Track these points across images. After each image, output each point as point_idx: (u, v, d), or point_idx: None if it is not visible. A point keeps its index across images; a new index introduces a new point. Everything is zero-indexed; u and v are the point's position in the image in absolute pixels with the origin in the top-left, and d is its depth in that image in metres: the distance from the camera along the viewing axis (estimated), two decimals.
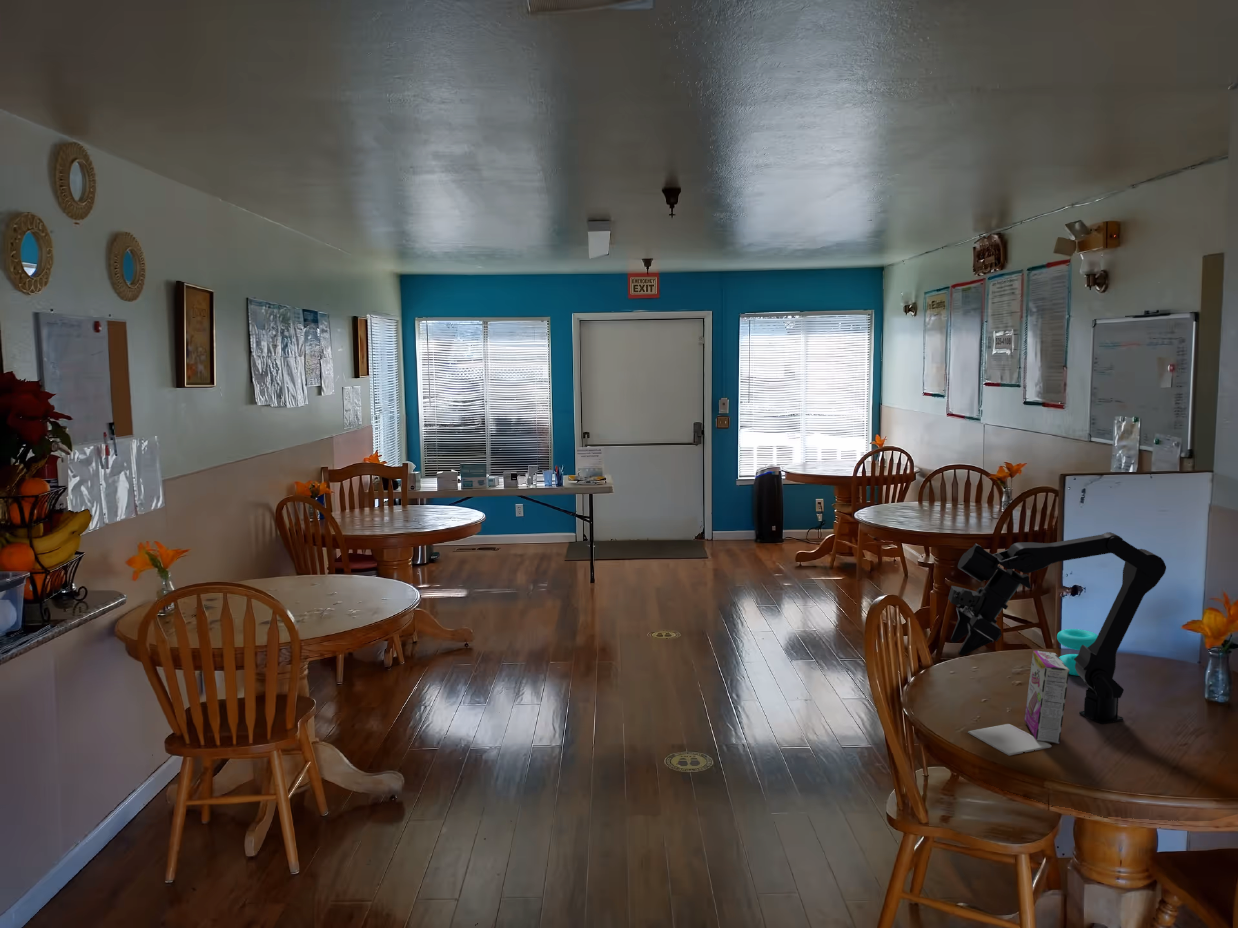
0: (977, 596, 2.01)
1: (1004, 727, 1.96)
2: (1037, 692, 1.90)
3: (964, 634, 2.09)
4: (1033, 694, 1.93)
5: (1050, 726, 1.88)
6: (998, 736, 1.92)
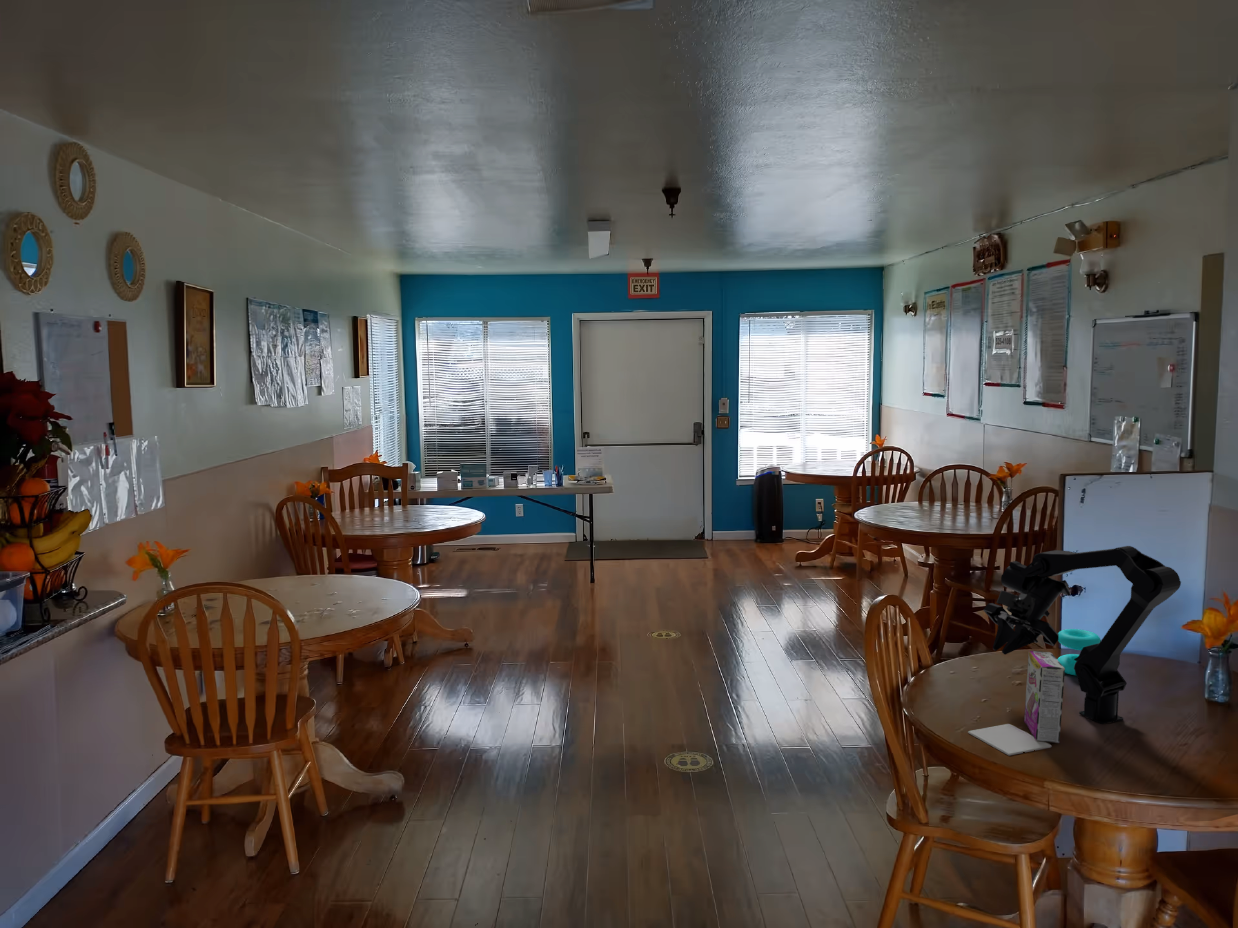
0: None
1: (1004, 727, 1.96)
2: (1035, 693, 1.90)
3: (1004, 642, 2.11)
4: (1031, 694, 1.93)
5: (1049, 725, 1.88)
6: (998, 736, 1.92)
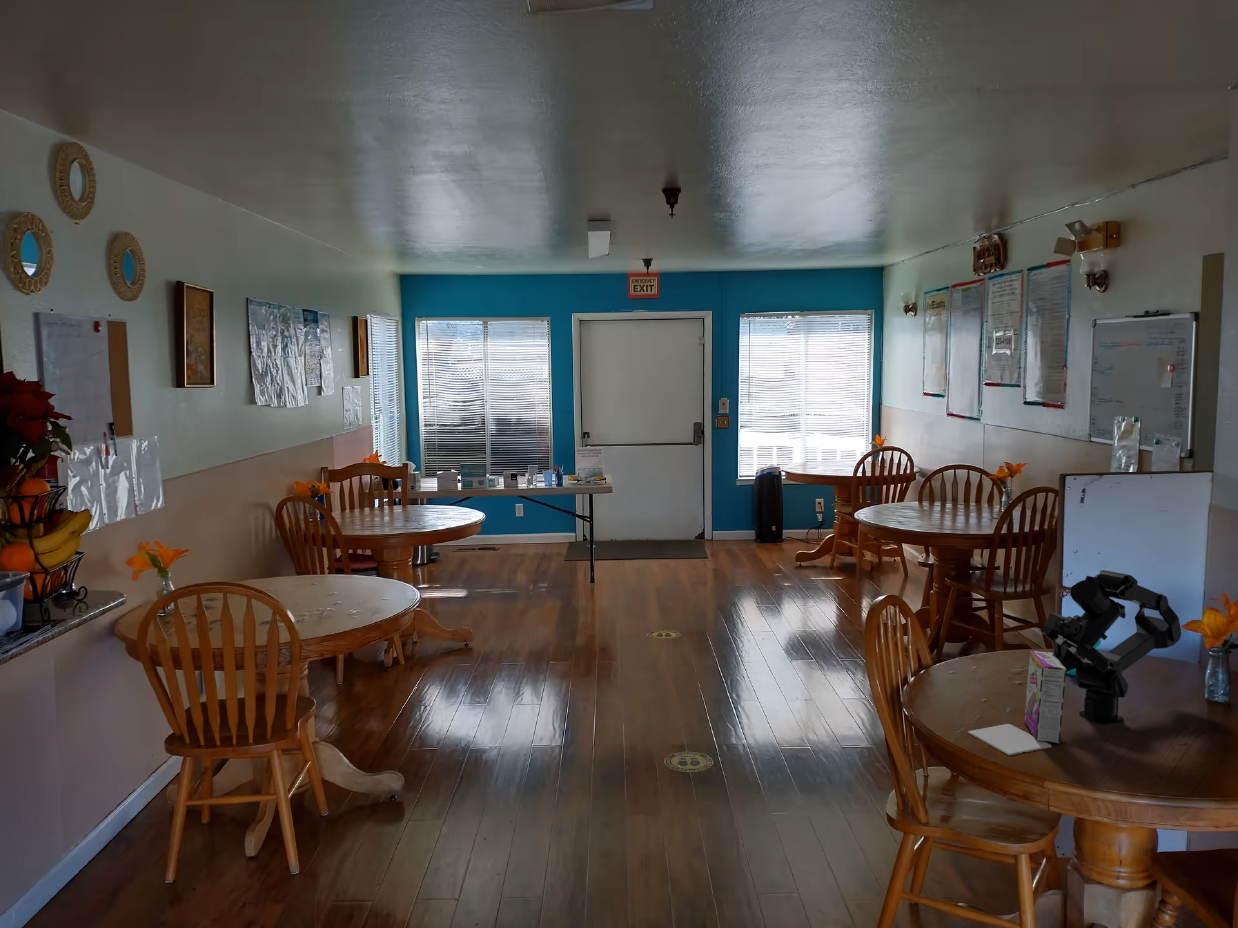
0: (1079, 624, 1.96)
1: (1004, 727, 1.96)
2: (1036, 693, 1.90)
3: None
4: (1031, 694, 1.93)
5: (1050, 725, 1.88)
6: (998, 736, 1.92)
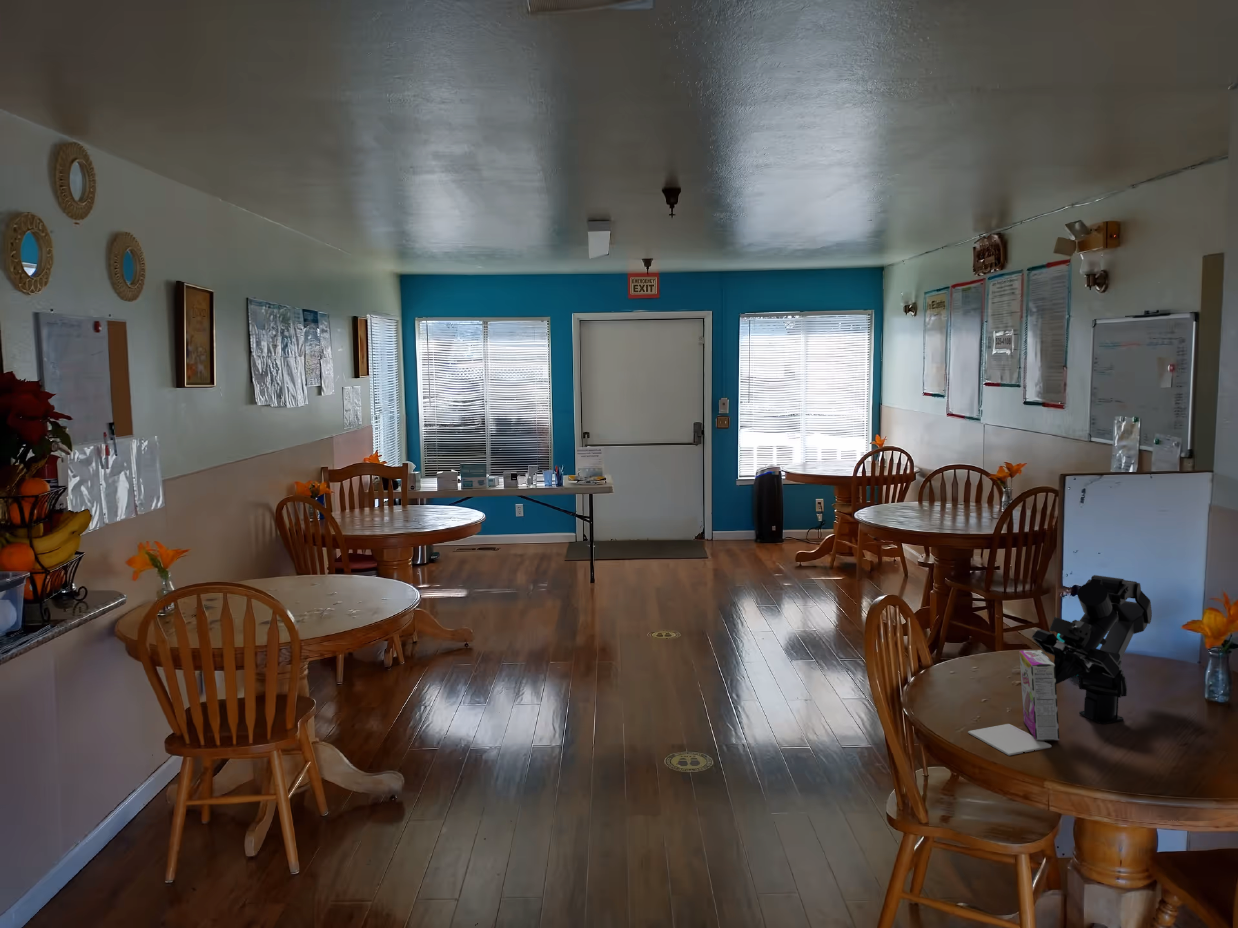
0: None
1: (1004, 727, 1.96)
2: (1029, 692, 1.91)
3: None
4: (1026, 694, 1.94)
5: (1047, 723, 1.88)
6: (998, 736, 1.92)
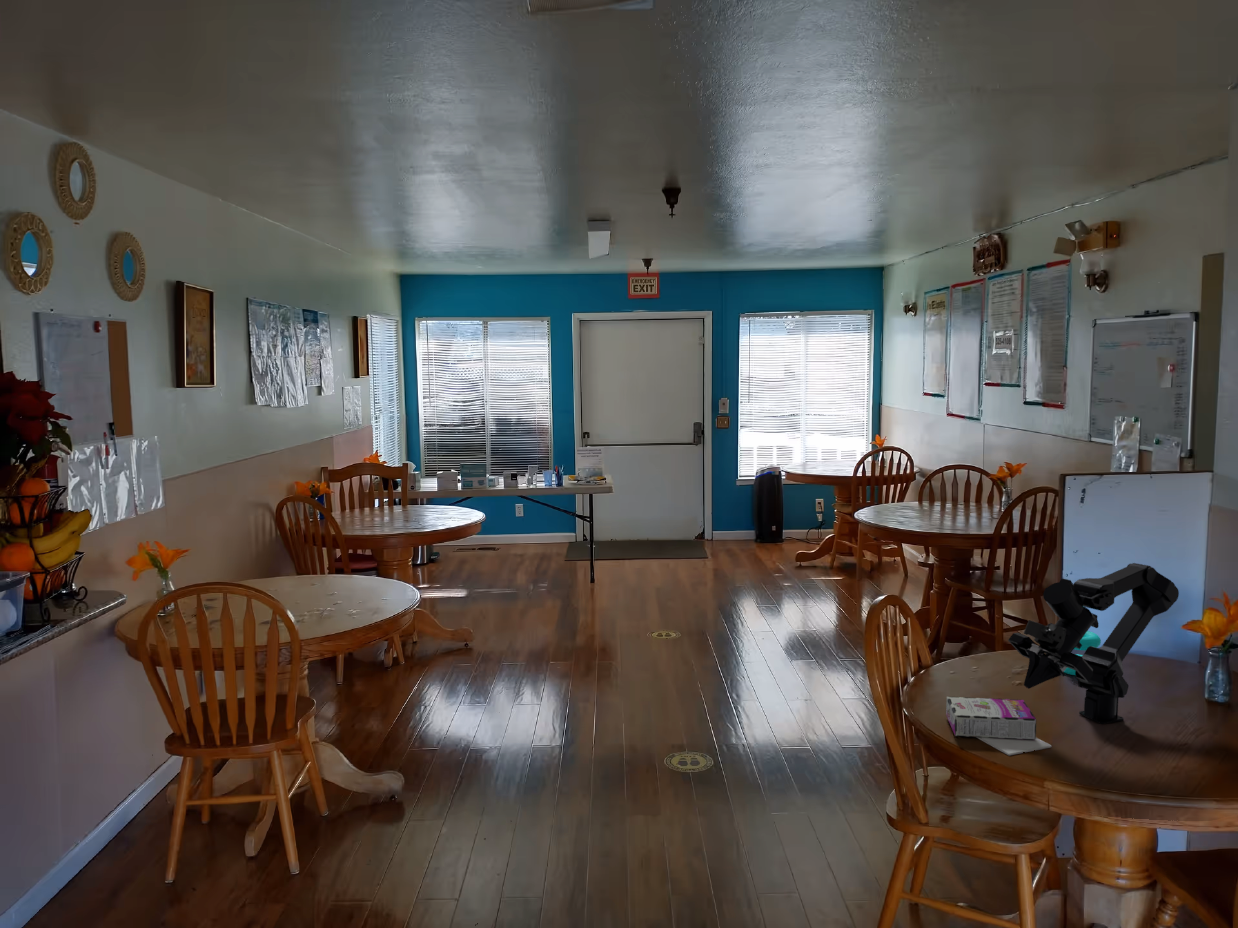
0: None
1: None
2: None
3: None
4: None
5: (1017, 728, 1.89)
6: None
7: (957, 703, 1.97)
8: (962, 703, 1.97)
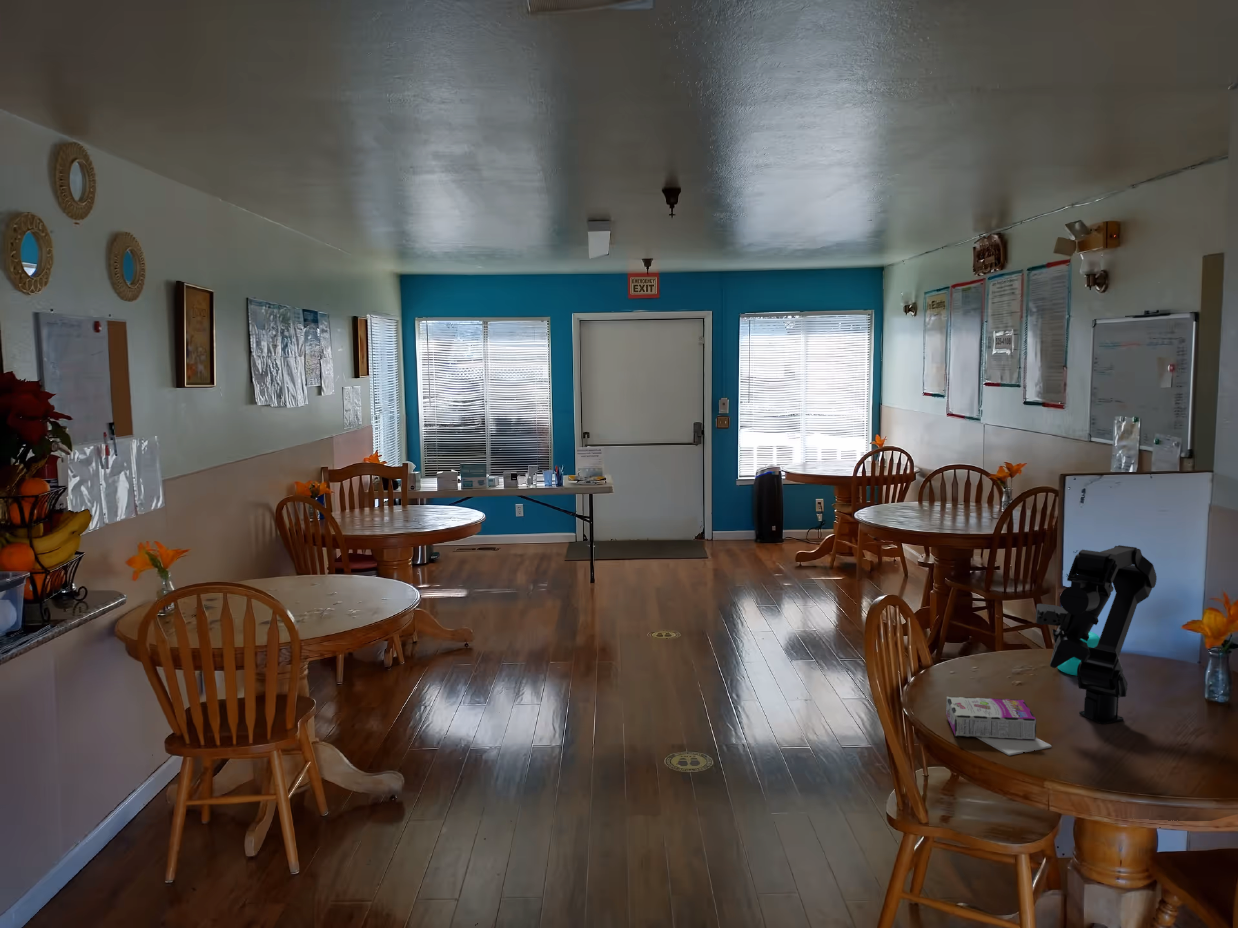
0: (1063, 614, 1.94)
1: None
2: None
3: None
4: None
5: (1017, 728, 1.89)
6: None
7: (957, 703, 1.97)
8: (962, 703, 1.97)
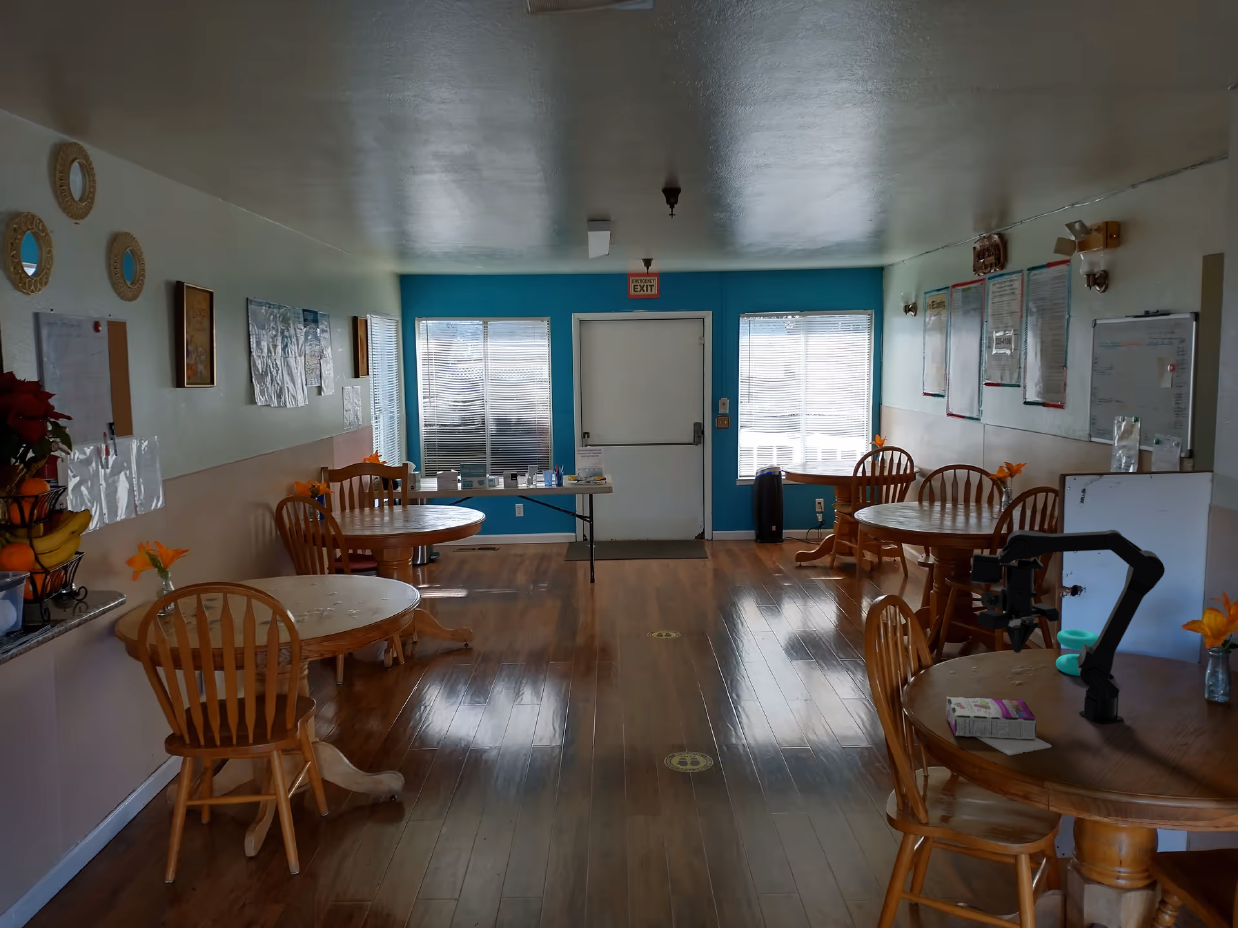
0: (999, 595, 2.08)
1: None
2: None
3: (1022, 641, 2.05)
4: None
5: (1017, 728, 1.89)
6: None
7: (957, 703, 1.97)
8: (962, 703, 1.97)
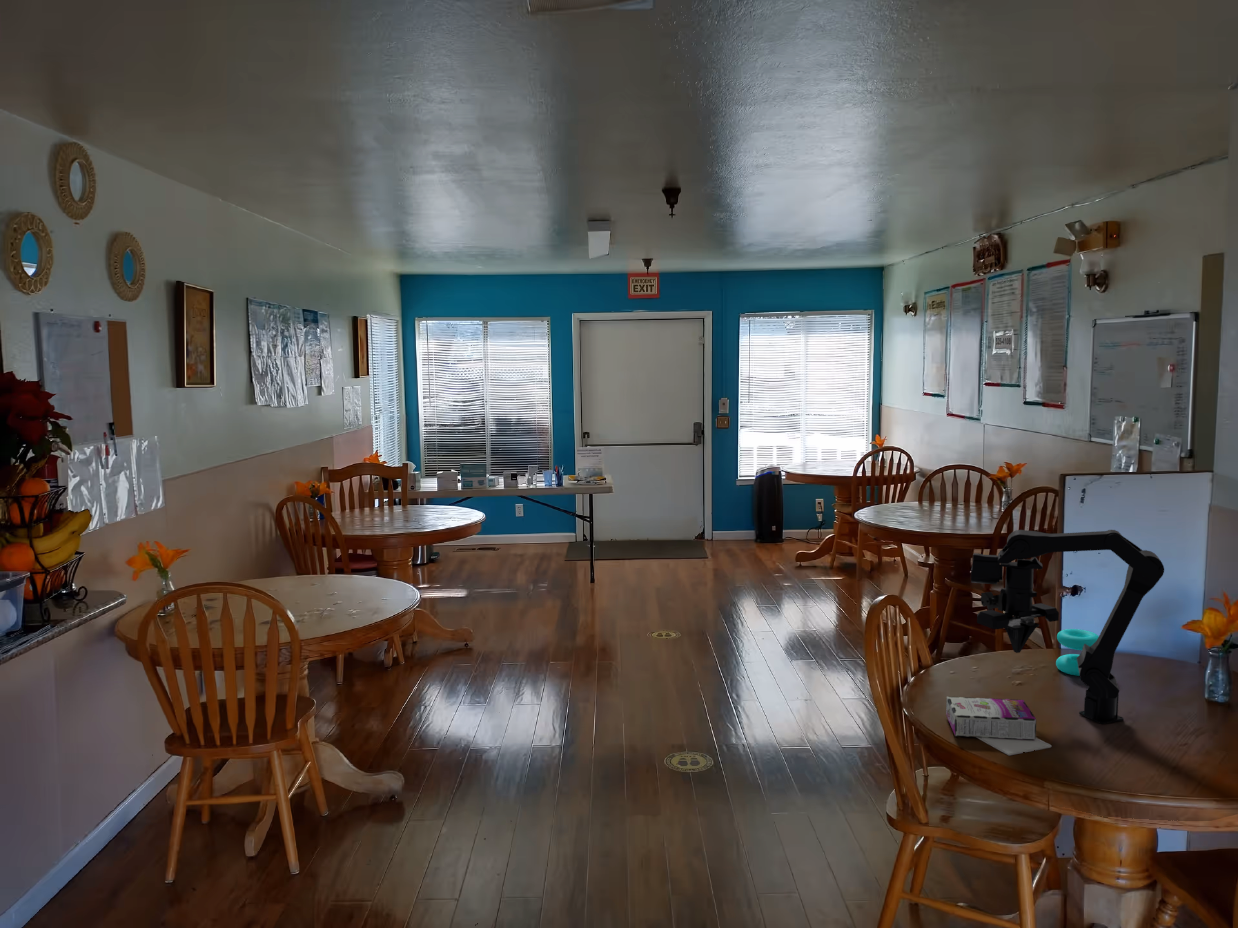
0: (999, 595, 2.08)
1: None
2: None
3: (1022, 641, 2.06)
4: None
5: (1017, 728, 1.89)
6: None
7: (957, 703, 1.97)
8: (962, 703, 1.97)
